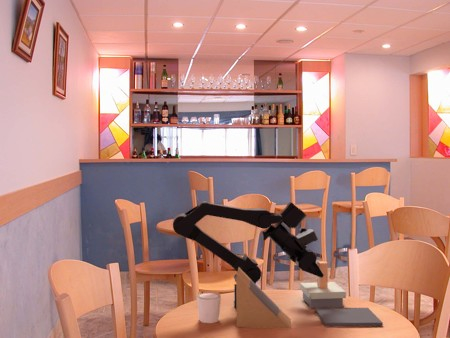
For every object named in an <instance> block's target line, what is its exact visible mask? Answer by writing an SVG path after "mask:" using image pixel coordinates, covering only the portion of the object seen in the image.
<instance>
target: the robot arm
mask: <svg viewBox="0 0 450 338" xmlns="http://www.w3.org/2000/svg"><path fill="white" fill-rule="evenodd" d="M206 216H209V217H218V218H224V219H228V220H234V221H238V222H244V223H247V224H249V225H252V226H254V227H255V228H260V229H263V230H261V239H262V240H263V241H266V240H267V239H268V238H269V239H270V240H271V241H272V242H273V243H274V244H276V246H278V248H279V249H281V251H283V253H284V254H285V256H286V257H287V258H288V259H290V261H292V263H295V265H296V266H297V267H298V268H299V269H300V270H302V271H303V272H306V273H308V274H311V275H314V276H316V277H317V276H318V277H321V278H322V277H323V276H324V275H323V273H322V272H321V270H320V268H319V267H318V265H317V259H318V257H317V256H318V255H317V254H316V253H315V252H313V251H312V249H307V245H309V244H311V243H313V242H317V241H318V239H319V238H318V236H317V235H316V232H315V230H314V229H312V228H307V229H306V228H305V227H303V226H302V227H300V228H299V229H298V231H299V233H297V235H294V234H292V233H291V231H289V230H291V229H294V230H295V229H296V228H297V227H298V226H299V225H300V223H302V222H303V221H304V220H305V219H306V217H307V215H306V213H305V212H304V211H303V210H302V209H301V208H299V207H298V206H296V205H295V204H294V203H293V202H292V201H290V202H288V203H287V205H286V206H285V207H284V208H283V209H282V210H281V212H279V213H277V212H271V211H270V210H267V209H265V208H262V207H254V208H253V207H252V208H241V207H235V206H229V205H226V204H225V205H224V204H218V203H212V202H208V201H206V200H205V201H201V202H199V204H197V205H195V206H194V207H193V208H191V209H189V210H188V211H186V212H184V213H179V214H177V215H176V216H174V217H173V221H172V228H173V231H174V232H175V233H176V234H177V235H179V236H182V237H184V238H186V239H188V240H191V241H194V242H196V243H197V244H199V245H200V246H202V247H204V248H205V249H206V250H207V251H209V252H210V253H212V254H213V255H215V256H216V257H218V258H219V259H221V260H222V261H223V262H225V263H227V264H228V265H229V266H231V267H232V268H233V269H234V271H236V272H237V271H238V268H240V269H241V270H242V271H243V272H244V273H245V274H246V275H247V276H248V277H249V278H250V279H251V280H252V281H253V282H254V283H255V284H256V283H257V282H259V280H261V277H262V270H261V268H260V267H259V264H258V262H257V261H256V260H255V258H254V259H253V258H251V257H250V256H249V255H248V254H246V253H244V254H243V256H241V255H239V254H237V253H235V252H234V251H232V250H231V249H229V248H228V247H227V246H225V245H224V244H222V242H220V241H218V239H217V240H216V239H215V238H214V237H213V236H211V235H210V234H208V233H207V232H205V231H204V230H203V229H201V228H200V226H198V224H197V223H198V222H200V221H201V220H202V219H203V218H205V217H206ZM282 223H283V224H282ZM287 228H288V229H289V230H288V229H287ZM264 229H266V230H264ZM236 275H237V273H236V274H234V276H233V280H234V282H235V283H234V286H233V287H234V288H233V289H234V292H233V293H234V297H233V299H234V300H233V305H234V306H233V307H234V309H237V304H236ZM256 285H257V284H256Z"/></svg>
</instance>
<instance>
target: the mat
mask: <svg viewBox="0 0 450 338" xmlns="http://www.w3.org/2000/svg"><path fill="white" fill-rule="evenodd" d="M314 312H315V313H316V315H317V316H318V318H319V320H320V322H321V323H322V324H323V326H324V327H325V328H326V327H327V328H328V327H329V328H331V327H332V328H333V327H341V328H342V327H383V325H384V323H383V321H382V320H381V319H380V318H379V317H378V316H377V315H376V314H375V313H374V312H373V310H371V309H370V308H369V307H330V308H314Z"/></svg>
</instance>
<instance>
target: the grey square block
mask: <svg viewBox="0 0 450 338" xmlns="http://www.w3.org/2000/svg"><path fill="white" fill-rule="evenodd" d="M302 299H303V300H304V302H306V304H307V305H308V306H309V308H311V309H315V308H344V302H343V301H344V298H332V299H309V298H308V297H307V296H306V295H305V294H304V292H303V291H302Z"/></svg>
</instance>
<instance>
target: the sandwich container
mask: <svg viewBox="0 0 450 338" xmlns="http://www.w3.org/2000/svg"><path fill="white" fill-rule="evenodd" d="M236 274H237V275H236ZM236 274H235V275H236V282H235V284H236V304H237V308H236V327H237V328H253V329H284V330H285V329H292V328H293V325H292V320H291V317H289V316H288V315H287V314H286V313H285V312H284V311H283V309H281V308H280V307H279V306H278V305H277V304H276V303H275V302H274V301H273V300H272V299H271V298H270V297H269V296H268V295H267V294H266V293H265V292H264V291H263V290H262V288H261V287H259V286H258V285H257V284H255V283H254V282H253V281H252V280H251V279H250V278H249V277H248V276H247V275H246V274H245V273H244V272H243V271H242V270H241V269H240V268H238V271H236Z"/></svg>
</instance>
